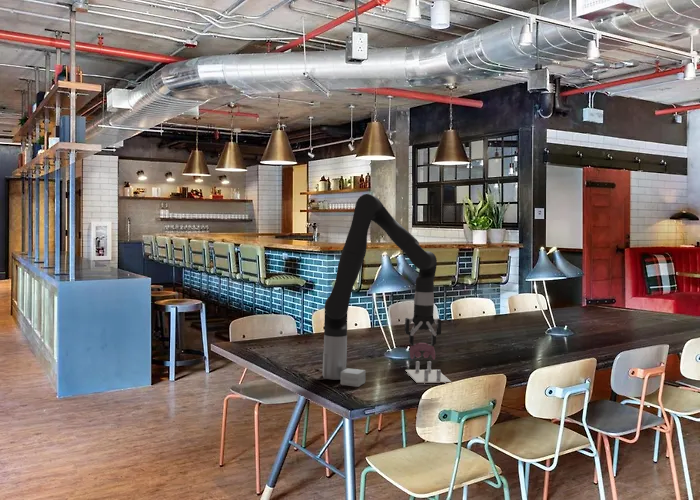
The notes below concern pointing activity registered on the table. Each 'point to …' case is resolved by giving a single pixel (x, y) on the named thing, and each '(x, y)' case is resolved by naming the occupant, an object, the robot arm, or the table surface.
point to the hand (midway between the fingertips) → (422, 345)
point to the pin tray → (430, 377)
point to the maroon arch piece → (419, 347)
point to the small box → (352, 377)
